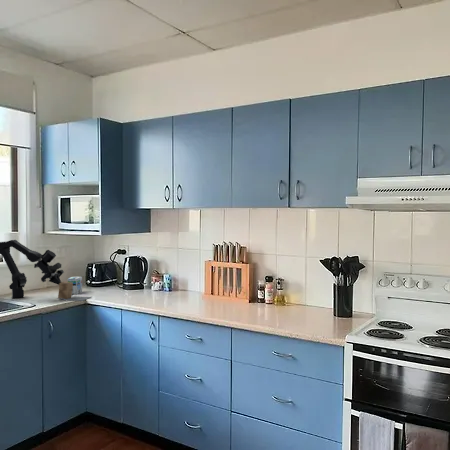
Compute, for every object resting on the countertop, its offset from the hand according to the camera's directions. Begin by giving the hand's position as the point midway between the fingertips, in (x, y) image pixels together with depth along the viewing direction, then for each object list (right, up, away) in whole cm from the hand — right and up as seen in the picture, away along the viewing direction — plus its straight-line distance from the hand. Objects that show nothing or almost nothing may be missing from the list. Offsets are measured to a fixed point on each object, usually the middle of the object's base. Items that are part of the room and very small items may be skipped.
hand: (61, 284), depth 294 cm
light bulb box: (+2, -9, +21) cm, 23 cm away
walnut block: (+2, -9, 0) cm, 9 cm away
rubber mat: (+11, -9, -2) cm, 15 cm away
